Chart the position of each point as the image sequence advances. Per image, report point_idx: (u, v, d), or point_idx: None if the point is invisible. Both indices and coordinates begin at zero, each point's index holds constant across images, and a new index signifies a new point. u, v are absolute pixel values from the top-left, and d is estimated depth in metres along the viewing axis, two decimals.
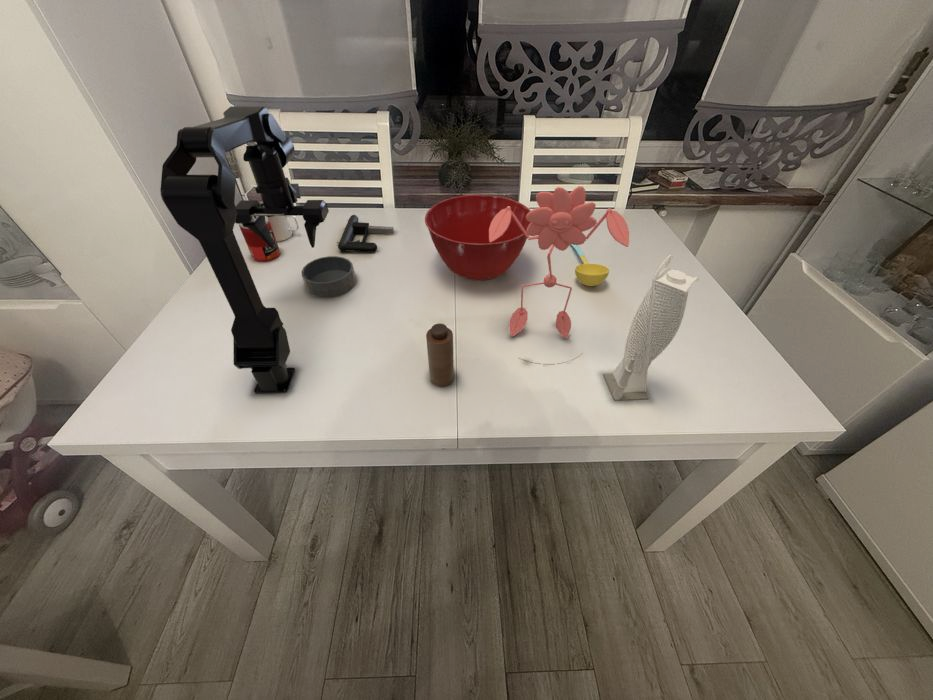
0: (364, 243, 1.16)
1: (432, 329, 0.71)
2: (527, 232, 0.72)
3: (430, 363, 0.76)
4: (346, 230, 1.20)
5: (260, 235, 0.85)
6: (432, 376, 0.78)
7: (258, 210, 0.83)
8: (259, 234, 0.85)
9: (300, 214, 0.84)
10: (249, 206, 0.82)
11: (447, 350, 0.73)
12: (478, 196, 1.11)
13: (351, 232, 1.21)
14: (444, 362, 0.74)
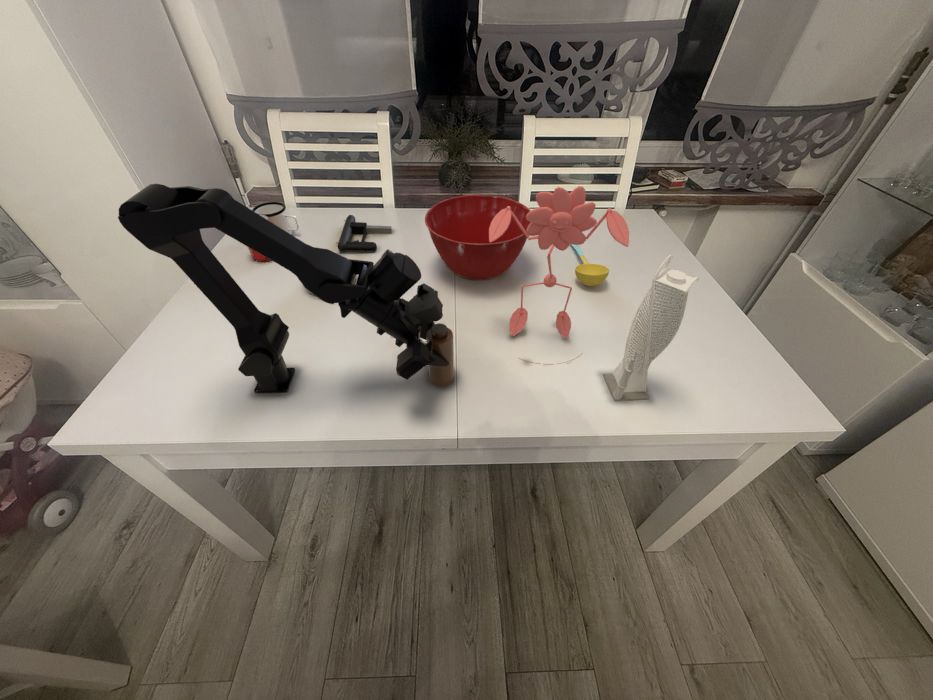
0: (364, 243, 1.16)
1: (432, 329, 0.71)
2: (527, 232, 0.72)
3: None
4: (344, 230, 1.20)
5: None
6: (432, 376, 0.78)
7: None
8: None
9: None
10: None
11: (447, 350, 0.73)
12: (478, 196, 1.11)
13: (350, 232, 1.21)
14: None
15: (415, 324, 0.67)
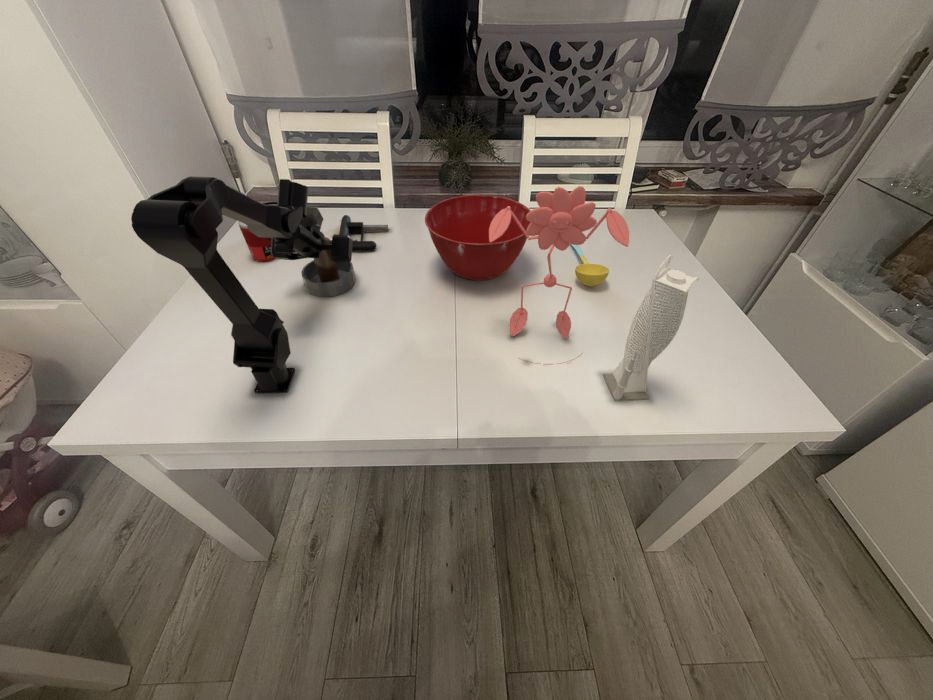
0: (363, 242, 1.16)
1: None
2: (527, 232, 0.72)
3: (328, 267, 0.99)
4: (342, 230, 1.20)
5: (298, 258, 0.97)
6: (333, 278, 1.02)
7: None
8: None
9: (329, 250, 0.93)
10: None
11: None
12: (478, 196, 1.11)
13: (347, 232, 1.21)
14: None
15: (319, 229, 0.90)
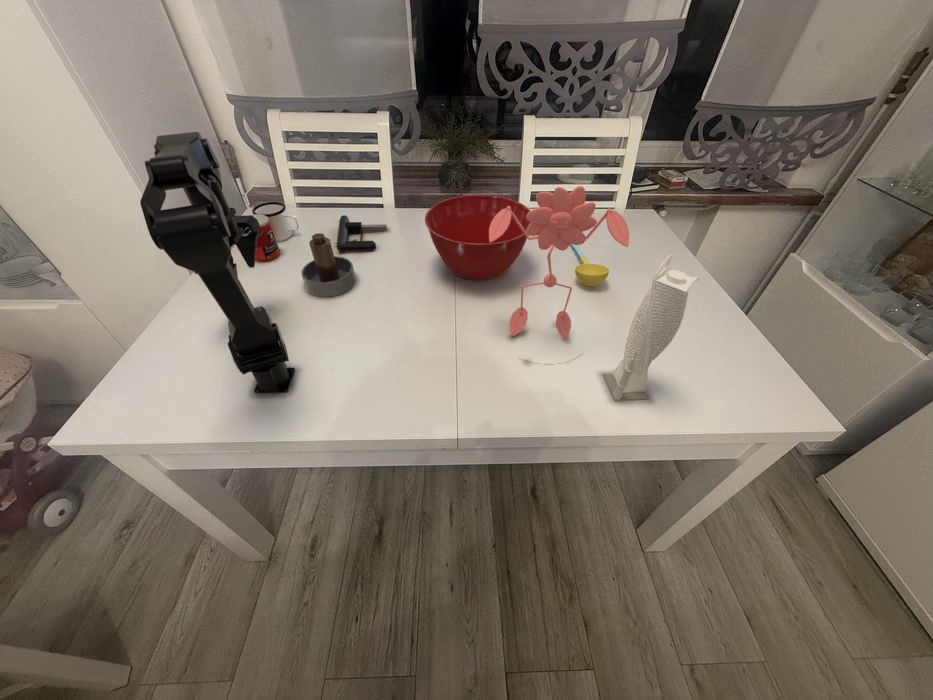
0: (363, 242, 1.16)
1: (317, 238, 0.94)
2: (527, 232, 0.72)
3: (328, 267, 0.99)
4: (341, 230, 1.20)
5: (236, 277, 0.77)
6: (333, 278, 1.02)
7: None
8: (236, 275, 0.77)
9: None
10: None
11: None
12: (478, 196, 1.11)
13: (346, 232, 1.20)
14: (334, 258, 1.00)
15: None
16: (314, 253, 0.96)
